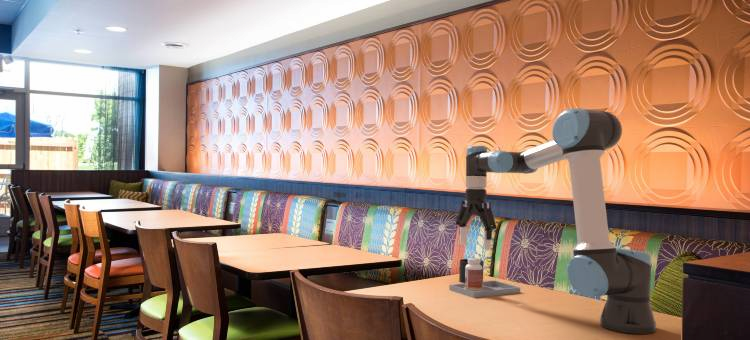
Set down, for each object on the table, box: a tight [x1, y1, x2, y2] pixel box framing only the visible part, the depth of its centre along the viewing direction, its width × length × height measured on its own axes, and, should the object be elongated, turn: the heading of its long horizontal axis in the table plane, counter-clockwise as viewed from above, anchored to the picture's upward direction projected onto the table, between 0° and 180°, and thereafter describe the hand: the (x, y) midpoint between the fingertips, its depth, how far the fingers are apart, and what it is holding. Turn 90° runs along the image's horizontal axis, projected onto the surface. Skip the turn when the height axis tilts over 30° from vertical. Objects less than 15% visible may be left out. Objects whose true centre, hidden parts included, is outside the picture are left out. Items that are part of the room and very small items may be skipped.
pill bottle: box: [465, 257, 482, 290], centre depth 215 cm, size 6×6×11 cm
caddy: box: [448, 280, 521, 299], centre depth 218 cm, size 14×22×2 cm, turn 120°
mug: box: [458, 258, 485, 284], centre depth 237 cm, size 9×12×9 cm
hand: (474, 246), depth 215 cm, fingers open, 13 cm apart
